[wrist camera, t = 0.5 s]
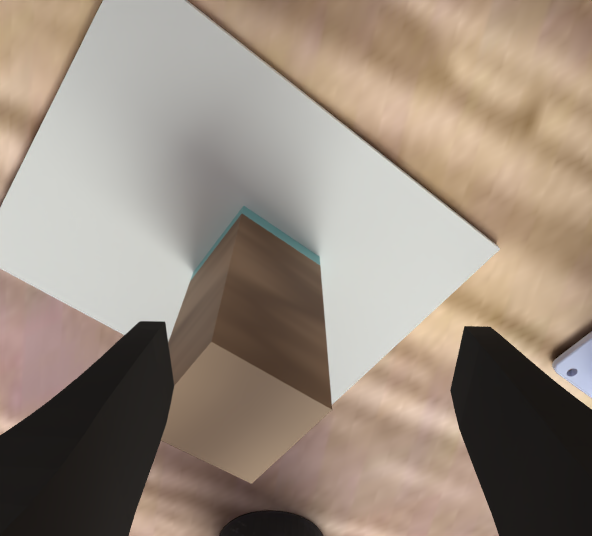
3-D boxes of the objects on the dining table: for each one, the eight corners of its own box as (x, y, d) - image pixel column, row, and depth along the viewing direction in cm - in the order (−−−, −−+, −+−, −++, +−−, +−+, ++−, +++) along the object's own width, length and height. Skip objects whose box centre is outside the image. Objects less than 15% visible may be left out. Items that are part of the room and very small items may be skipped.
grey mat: (496, 244, 22) (500, 249, 22) (303, 425, 28) (303, 431, 27) (129, -46, 17) (125, -47, 16) (-19, 251, 22) (-24, 255, 22)
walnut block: (319, 256, 22) (332, 409, 14) (266, 316, 23) (251, 483, 16) (243, 205, 21) (211, 341, 13) (193, 272, 22) (137, 429, 14)
